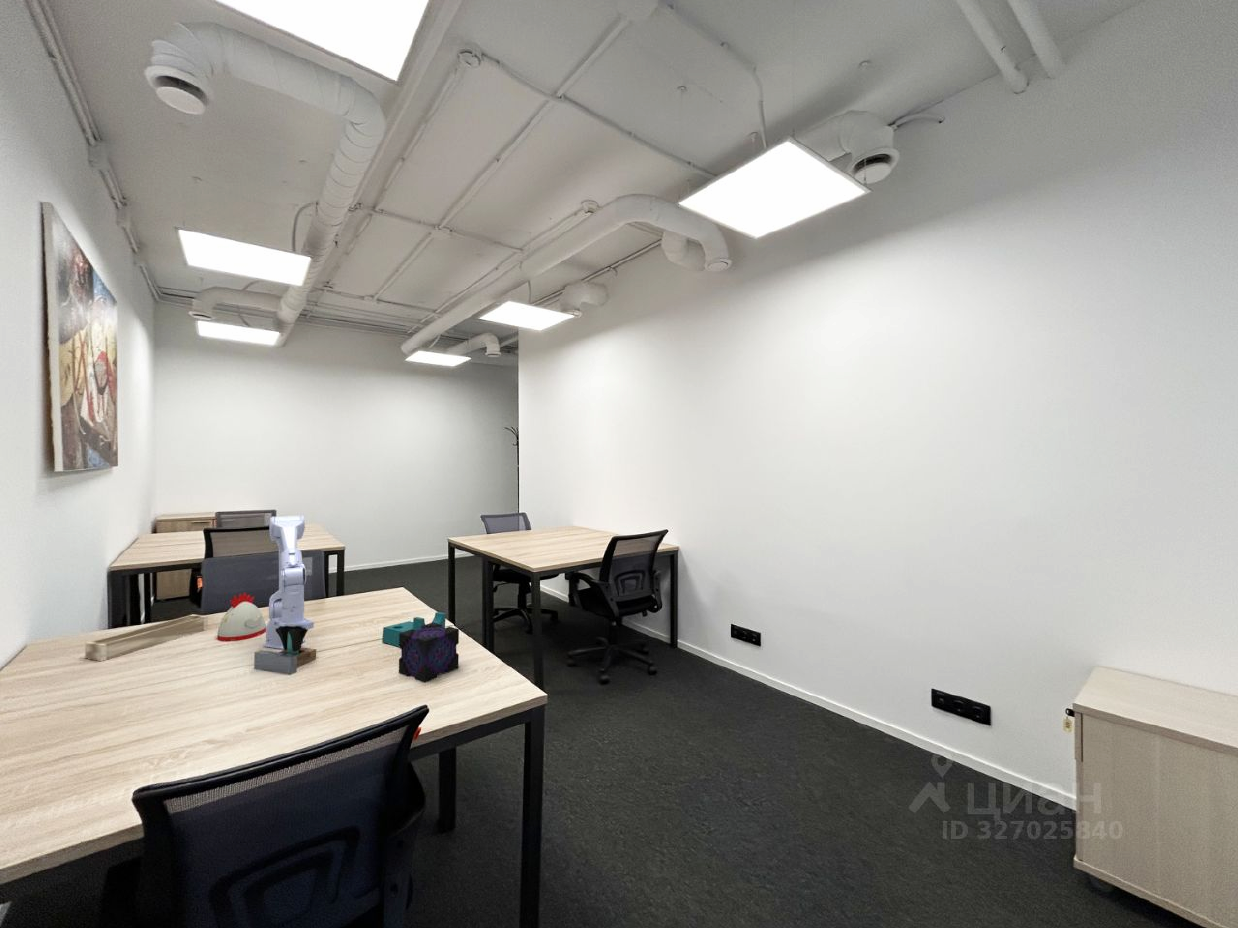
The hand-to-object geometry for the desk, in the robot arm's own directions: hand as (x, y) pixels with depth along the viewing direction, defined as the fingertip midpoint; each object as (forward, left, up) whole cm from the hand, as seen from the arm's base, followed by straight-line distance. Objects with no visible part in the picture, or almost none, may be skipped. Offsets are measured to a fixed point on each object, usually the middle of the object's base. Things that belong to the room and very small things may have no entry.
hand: (292, 649), depth 150 cm
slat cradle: (-61, -1, -4) cm, 61 cm away
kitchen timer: (-40, +14, -4) cm, 43 cm away
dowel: (0, 0, -2) cm, 3 cm away
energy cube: (+44, +7, -4) cm, 45 cm away
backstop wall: (0, -6, -4) cm, 7 cm away
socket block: (0, 0, -4) cm, 4 cm away
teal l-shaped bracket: (+24, +25, -5) cm, 35 cm away
